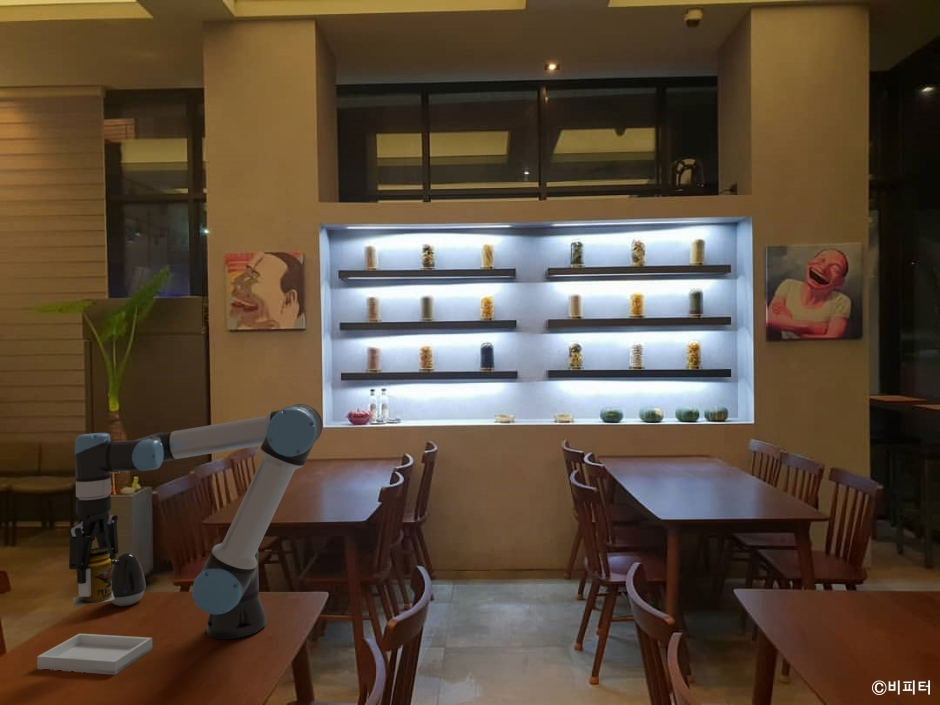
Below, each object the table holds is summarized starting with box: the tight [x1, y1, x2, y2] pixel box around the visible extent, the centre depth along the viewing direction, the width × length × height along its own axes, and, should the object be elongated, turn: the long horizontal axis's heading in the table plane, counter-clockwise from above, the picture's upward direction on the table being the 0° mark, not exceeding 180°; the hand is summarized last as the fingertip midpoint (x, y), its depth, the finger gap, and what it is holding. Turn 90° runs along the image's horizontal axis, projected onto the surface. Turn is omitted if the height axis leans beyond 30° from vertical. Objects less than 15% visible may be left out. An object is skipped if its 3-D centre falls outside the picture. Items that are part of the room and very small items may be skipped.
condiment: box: [72, 547, 115, 608], centre depth 158 cm, size 7×8×12 cm
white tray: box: [36, 633, 153, 676], centre depth 159 cm, size 21×13×3 cm, turn 80°
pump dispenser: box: [110, 552, 146, 607], centre depth 196 cm, size 10×10×15 cm
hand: (95, 590), depth 159 cm, fingers closed on condiment, 6 cm apart
